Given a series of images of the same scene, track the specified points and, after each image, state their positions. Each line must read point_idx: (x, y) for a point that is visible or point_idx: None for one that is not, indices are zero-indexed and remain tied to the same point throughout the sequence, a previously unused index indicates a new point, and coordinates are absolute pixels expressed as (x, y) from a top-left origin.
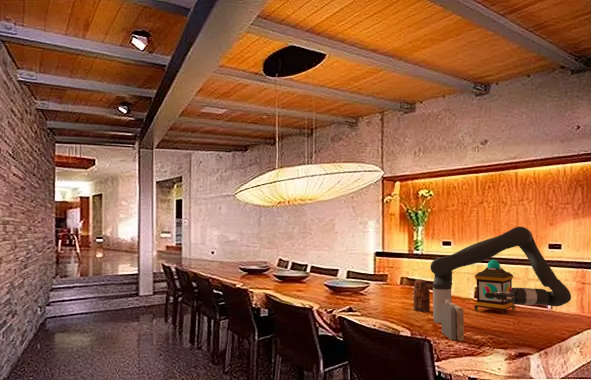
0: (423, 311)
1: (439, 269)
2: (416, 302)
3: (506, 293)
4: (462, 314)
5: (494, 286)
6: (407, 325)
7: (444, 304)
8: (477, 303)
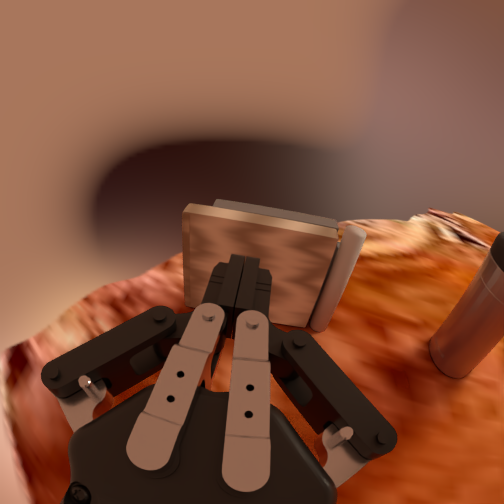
0: None
1: None
2: None
3: (147, 412)
4: (183, 230)
5: None
6: (380, 267)
7: (294, 212)
8: None
